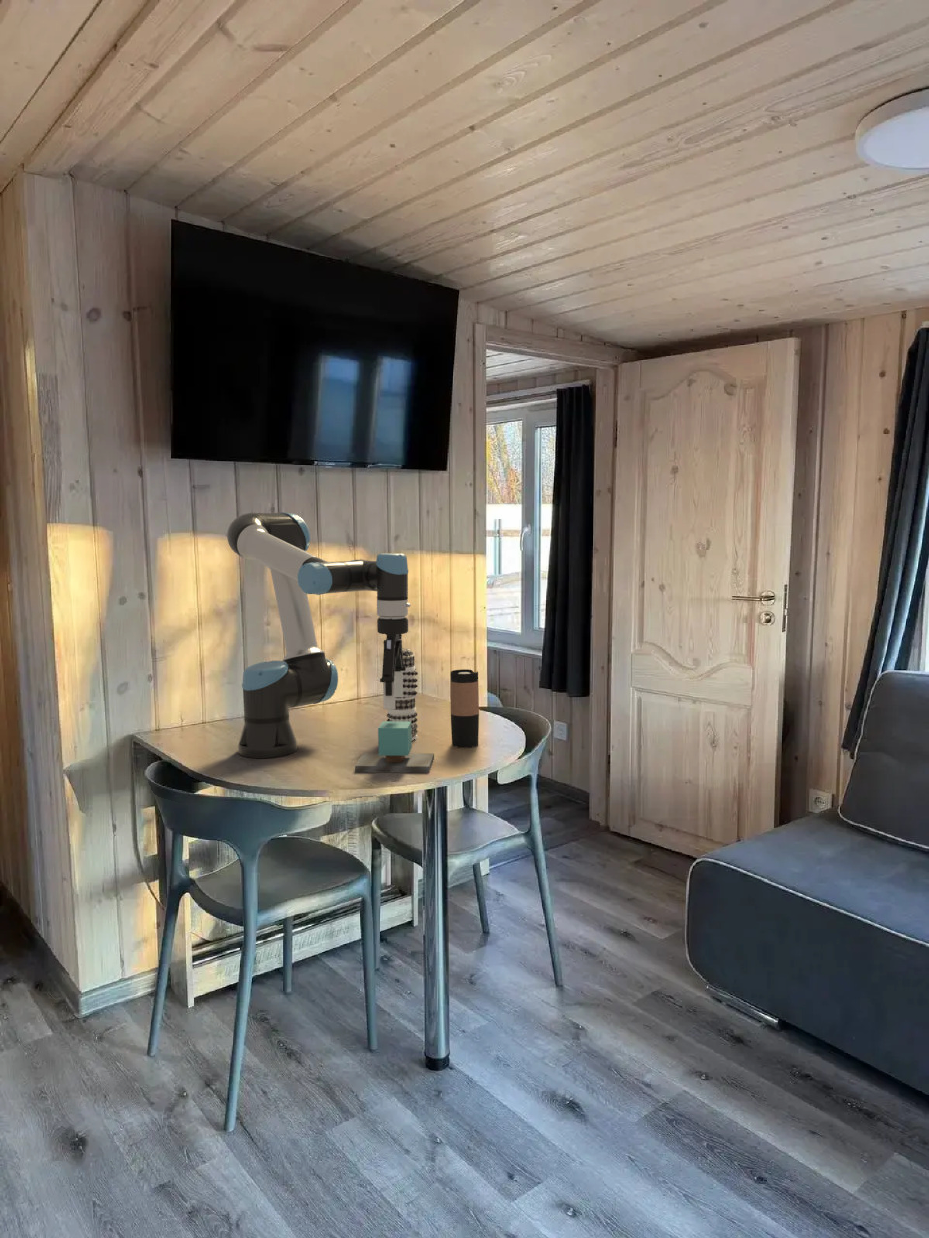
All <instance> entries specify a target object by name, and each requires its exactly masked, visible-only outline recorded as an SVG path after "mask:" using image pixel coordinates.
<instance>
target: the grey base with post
mask: <svg viewBox="0 0 929 1238" xmlns="http://www.w3.org/2000/svg"><path fill="white" fill-rule="evenodd" d="M433 760H435V753H433V752H432V753H429V752H428V753H423V752H422V753H420V752H419V753H418V752H415V753H414V752H410V753H409V755H408V756H389V755H379V752H363V754H362V755H361V756H360V758H359V760H358V761H357V762H356V763H355V766H354V772H355V773H427V774H428V773H430V771H431V769H432V767H433V764H432V763H434V761H433Z"/></svg>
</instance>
